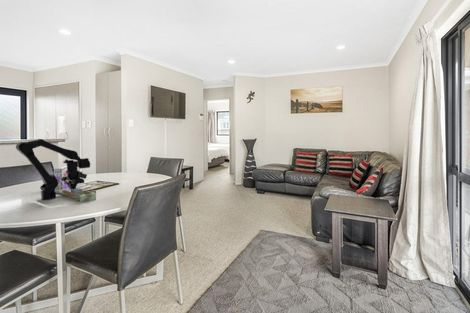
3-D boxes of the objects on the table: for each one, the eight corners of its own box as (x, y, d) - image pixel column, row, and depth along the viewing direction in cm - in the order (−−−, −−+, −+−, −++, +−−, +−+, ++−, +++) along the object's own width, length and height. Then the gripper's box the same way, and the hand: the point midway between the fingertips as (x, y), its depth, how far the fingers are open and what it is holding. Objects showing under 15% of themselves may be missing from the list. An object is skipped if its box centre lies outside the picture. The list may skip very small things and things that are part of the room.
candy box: (62, 191, 183) (60, 168, 181) (54, 190, 183) (52, 168, 181) (74, 186, 197) (73, 165, 195) (67, 186, 197) (65, 165, 195)
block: (74, 196, 164) (74, 190, 163) (70, 195, 166) (70, 189, 166) (82, 195, 168) (82, 189, 168) (78, 193, 171) (78, 188, 170)
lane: (81, 202, 155) (80, 195, 154) (62, 196, 168) (62, 190, 168) (104, 197, 167) (104, 191, 166) (85, 192, 181) (85, 186, 180)
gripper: (92, 169, 169) (93, 192, 171) (78, 166, 179) (79, 188, 181) (74, 171, 160) (75, 195, 162) (60, 168, 170) (61, 191, 172)
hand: (73, 192), depth 169 cm, fingers closed
